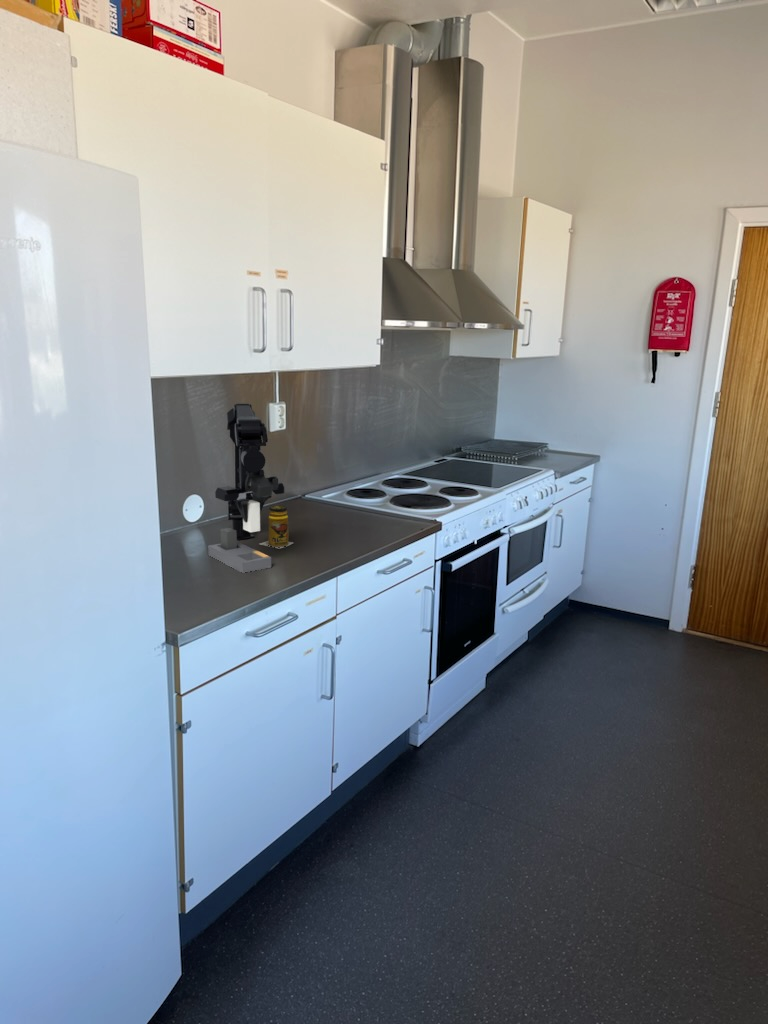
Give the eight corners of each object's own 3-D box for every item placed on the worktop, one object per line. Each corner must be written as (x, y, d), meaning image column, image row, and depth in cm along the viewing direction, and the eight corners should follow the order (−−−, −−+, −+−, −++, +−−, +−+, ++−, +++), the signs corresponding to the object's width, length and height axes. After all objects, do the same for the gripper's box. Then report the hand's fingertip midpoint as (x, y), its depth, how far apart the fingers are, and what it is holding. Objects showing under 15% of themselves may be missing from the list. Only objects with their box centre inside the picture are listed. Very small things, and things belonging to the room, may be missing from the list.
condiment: (280, 549, 225) (280, 510, 222) (258, 544, 229) (257, 506, 226) (294, 543, 231) (294, 506, 228) (272, 539, 235) (272, 502, 232)
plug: (243, 529, 206) (242, 501, 204) (252, 527, 208) (252, 499, 206) (250, 532, 203) (250, 503, 201) (260, 530, 205) (259, 502, 203)
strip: (208, 555, 216) (208, 544, 216) (236, 550, 222) (235, 540, 221) (242, 573, 202) (242, 562, 201) (271, 567, 207) (271, 556, 206)
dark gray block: (221, 555, 217) (220, 529, 215) (230, 553, 219) (229, 527, 217) (227, 558, 214) (227, 532, 212) (237, 557, 216) (236, 530, 214)
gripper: (234, 473, 189) (235, 532, 193) (295, 466, 201) (295, 522, 205) (213, 466, 197) (215, 523, 201) (273, 460, 209) (274, 514, 213)
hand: (251, 521), depth 205 cm, fingers closed on plug, 3 cm apart
